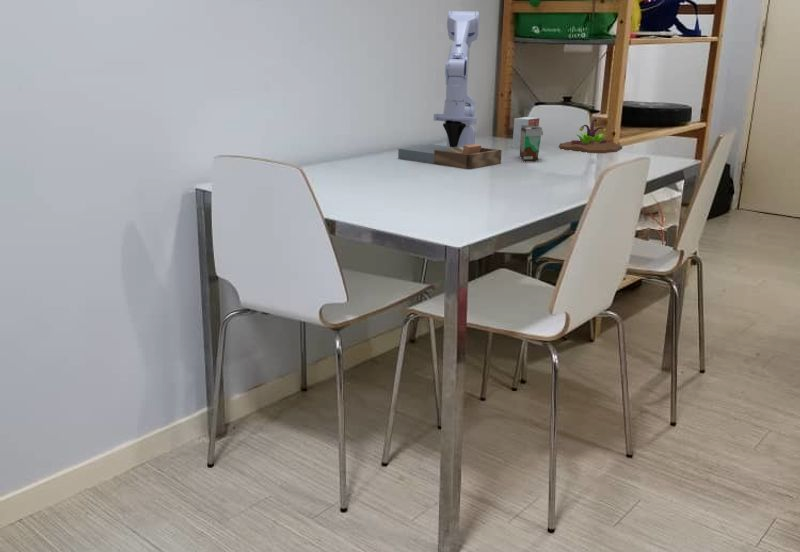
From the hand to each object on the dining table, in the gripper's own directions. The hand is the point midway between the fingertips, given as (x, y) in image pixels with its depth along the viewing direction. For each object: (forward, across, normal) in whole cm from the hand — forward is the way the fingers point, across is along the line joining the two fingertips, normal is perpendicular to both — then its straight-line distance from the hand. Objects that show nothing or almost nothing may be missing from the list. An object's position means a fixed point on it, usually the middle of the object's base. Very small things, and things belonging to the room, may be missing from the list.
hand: (453, 146), depth 239 cm
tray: (+4, +6, 0) cm, 7 cm away
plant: (+5, +17, +56) cm, 58 cm away
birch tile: (+3, +2, 0) cm, 4 cm away
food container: (+5, +14, +22) cm, 26 cm away
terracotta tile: (+1, +6, 0) cm, 6 cm away
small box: (+5, -1, +42) cm, 42 cm away
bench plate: (+4, -8, 0) cm, 9 cm away
